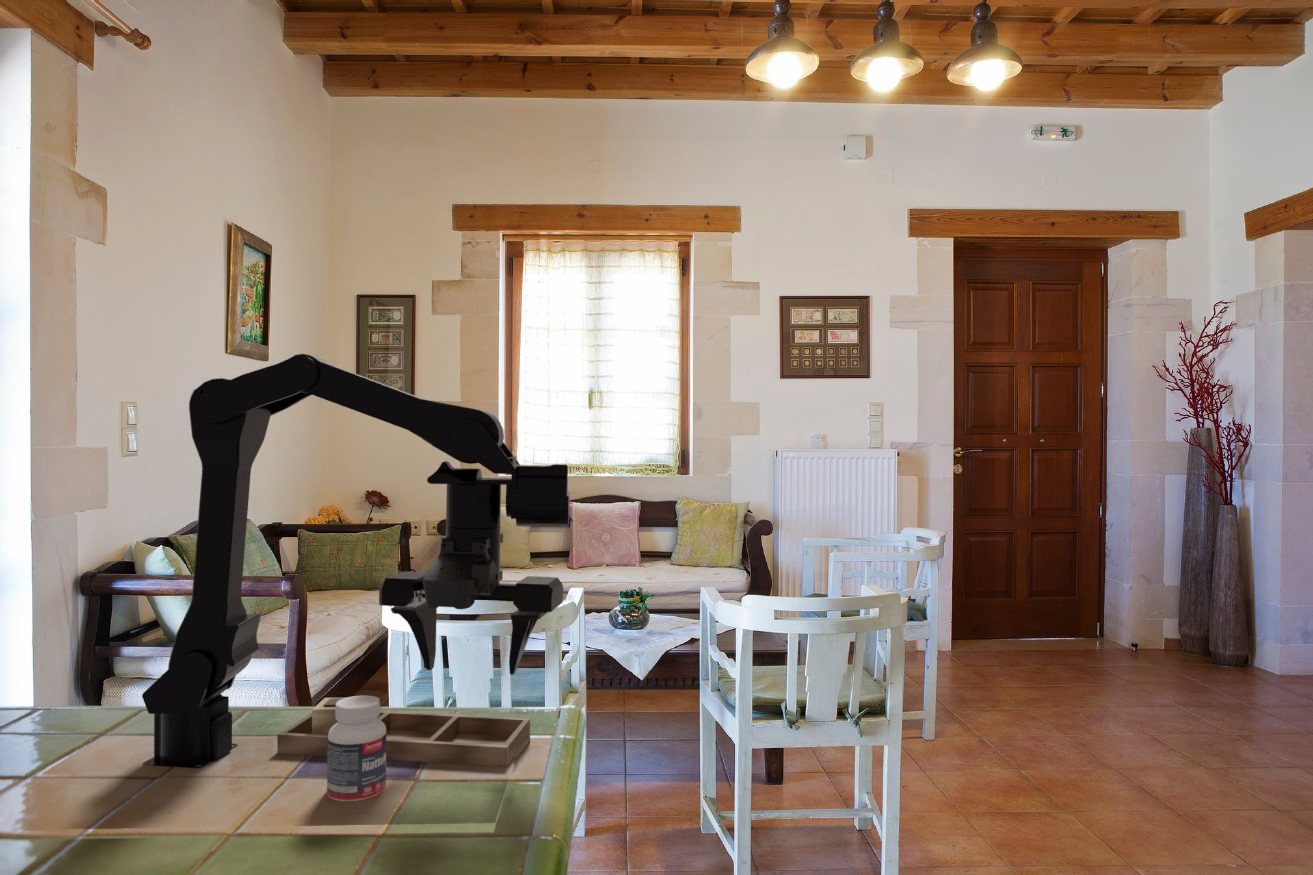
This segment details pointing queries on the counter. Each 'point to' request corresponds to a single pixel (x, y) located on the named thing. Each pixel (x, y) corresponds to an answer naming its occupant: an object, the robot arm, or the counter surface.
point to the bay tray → (428, 738)
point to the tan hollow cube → (324, 716)
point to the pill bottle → (356, 750)
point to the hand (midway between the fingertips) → (471, 671)
